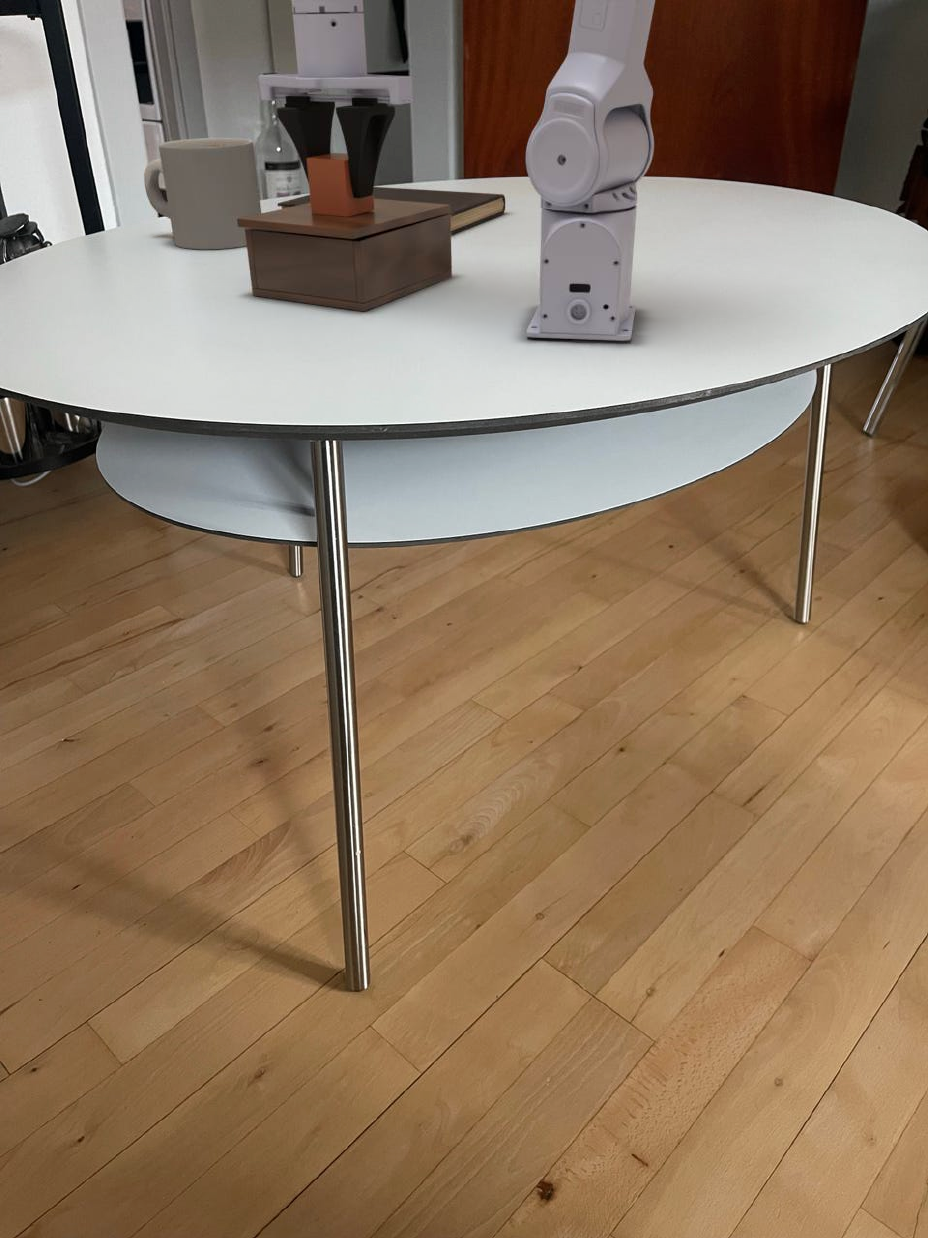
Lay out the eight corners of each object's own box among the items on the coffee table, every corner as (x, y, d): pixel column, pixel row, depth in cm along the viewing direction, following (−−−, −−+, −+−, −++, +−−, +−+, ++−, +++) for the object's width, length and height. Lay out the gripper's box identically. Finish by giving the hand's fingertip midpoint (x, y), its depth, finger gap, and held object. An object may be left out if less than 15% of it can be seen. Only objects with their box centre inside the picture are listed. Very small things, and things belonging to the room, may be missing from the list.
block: (374, 209, 88) (371, 154, 86) (348, 217, 85) (344, 160, 83) (338, 206, 90) (334, 152, 88) (311, 213, 87) (306, 157, 85)
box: (364, 311, 84) (359, 240, 81) (252, 295, 89) (244, 228, 86) (452, 276, 94) (450, 213, 91) (347, 264, 100) (342, 203, 97)
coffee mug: (282, 236, 113) (272, 139, 108) (221, 252, 106) (206, 149, 101) (197, 226, 119) (183, 134, 114) (134, 241, 112) (116, 143, 107)
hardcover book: (448, 236, 112) (448, 214, 110) (279, 223, 120) (277, 203, 119) (505, 213, 124) (505, 193, 123) (348, 202, 132) (347, 184, 131)
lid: (353, 238, 80) (353, 229, 80) (237, 226, 86) (236, 218, 85) (450, 212, 91) (450, 204, 91) (342, 203, 97) (342, 195, 96)
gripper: (226, 15, 80) (248, 195, 87) (373, 12, 74) (383, 207, 81) (282, 14, 85) (298, 184, 92) (424, 11, 79) (429, 194, 86)
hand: (341, 194), depth 87 cm, fingers closed on block, 4 cm apart
